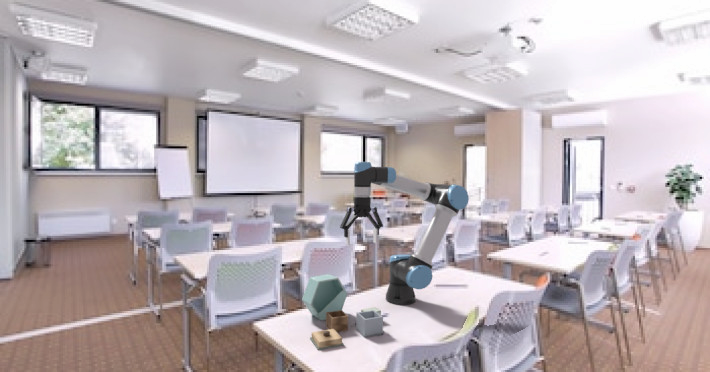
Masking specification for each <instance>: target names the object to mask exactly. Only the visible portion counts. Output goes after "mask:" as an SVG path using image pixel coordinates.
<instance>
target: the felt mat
mask: <svg viewBox="0 0 710 372" xmlns="http://www.w3.org/2000/svg"><path fill="white" fill-rule="evenodd" d="M309 340H310V341H311V342H312V344H313V345H314V347H315V348H316V349H317V350H318V351H320V350H325V349H332V348H336V347H337V348H338V347H341V346H342V347H343V346H344V343H343V342H342V344H339V345H333V346H328V347H323V348H318V346H317V345H316V343H315V342H314V341H313V339H312V336H311V337H309Z"/></svg>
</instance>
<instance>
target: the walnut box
mask: <svg viewBox="0 0 710 372" xmlns="http://www.w3.org/2000/svg"><path fill="white" fill-rule="evenodd" d="M325 328H327V330H329V329H334V330H335V331H336V332H337V333H341V332H346V331H349V315H348V314H347V313H345V312H344V311H343V309H342V310H339V311H332V312H326V319H325Z"/></svg>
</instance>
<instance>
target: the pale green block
mask: <svg viewBox="0 0 710 372" xmlns="http://www.w3.org/2000/svg"><path fill="white" fill-rule="evenodd" d="M371 310H374V311H376V312H377V313H378V314H380V315H381V316H382V310H381V309H379V308H378V307H376V306H372V307H371V306H370V307H368V308H363V309H360V312H365V311H371Z"/></svg>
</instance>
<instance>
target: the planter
mask: <svg viewBox="0 0 710 372" xmlns="http://www.w3.org/2000/svg"><path fill="white" fill-rule="evenodd" d="M347 296H348V292H347V289H345V287H344V285H343V283H342V282H341V280H340V279H339V277H337V276H335V275H332V274H330V273H327V274H321V275H315V276H310V277H309V279H308V282H307V285H306V288H305V290H304V293H303V295H302V299H301V301H302V302H303V304H304V305H305V306H306V309H307V310H308V312H309V313H310V314H311V316H313V317H315V318H316V319H318V320H319V321H326V312H332V311H339V310H342V311H343V309H344V304H345V302H346V299H347Z"/></svg>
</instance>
